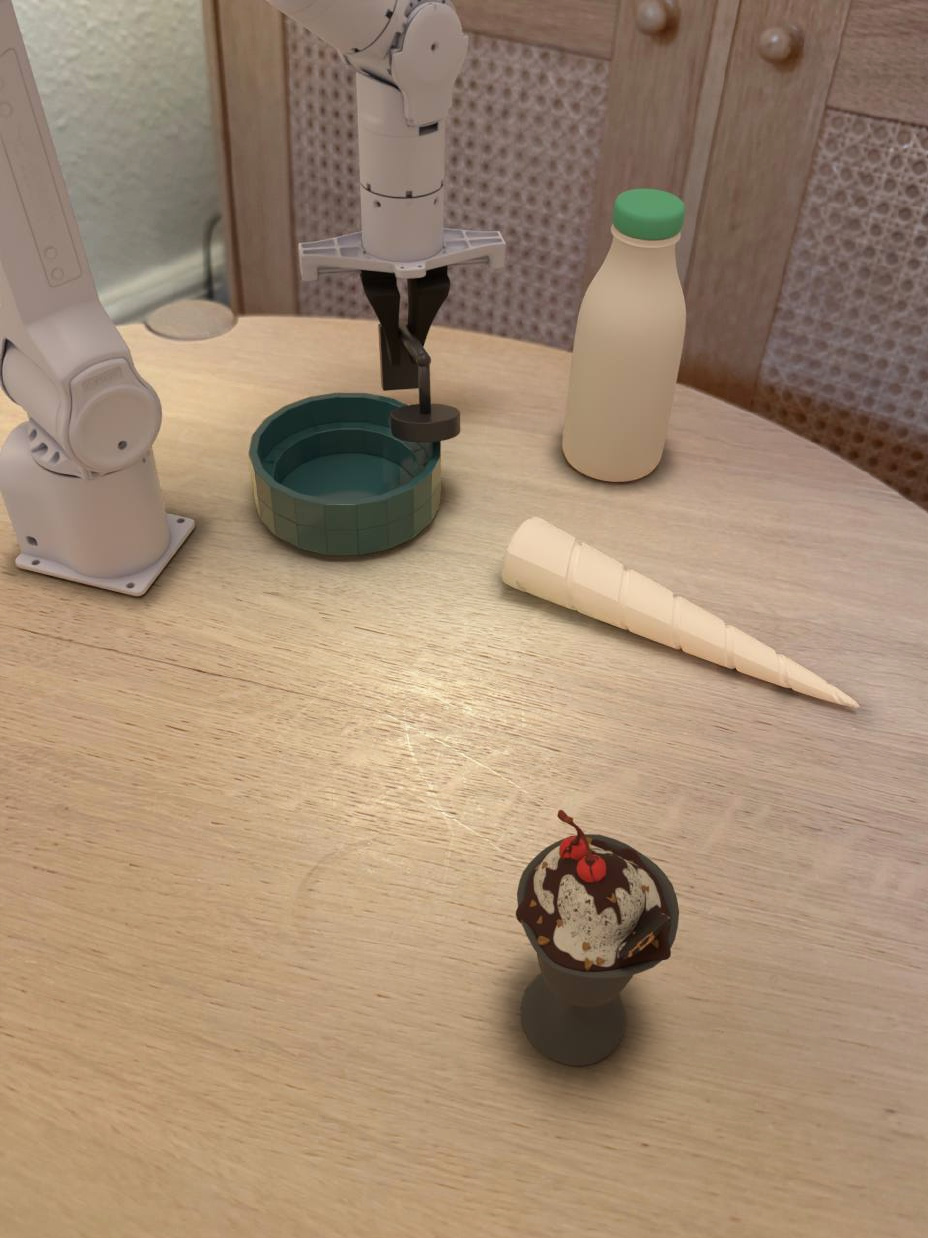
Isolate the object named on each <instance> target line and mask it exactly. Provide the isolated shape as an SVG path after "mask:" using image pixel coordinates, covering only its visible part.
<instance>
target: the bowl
mask: <svg viewBox="0 0 928 1238" xmlns="http://www.w3.org/2000/svg"><path fill="white" fill-rule="evenodd" d="M407 405H408V404H407V403H404V402H402V401H400V400H396V399H395V398H392V397H388V396H383V395H379V394H378V395H377V394H372V393H368V392H331V393H326V394H319V395H313V396H308V397H305V398H302V399H299V400H297V401H294V402H291V403H288V404H285V405H284V406H282V407H280V408H279V409H277V410H276V411H274V412H273V413H272V414H270V415H268V416H266V417H265V418H264V419H263V420H262V422H261V423H260V424H259V426H258V427H257V428H256V430H255V431H254V432H253V433H252V434H251V439H250V444H249V447H248V459H249V460H248V462H249V467H250V475H251V483H252V489H253V497H254V503H255V507H256V509H257V513H258V516H259V518H260V520H261V522H262V523H263V525H265V526H266V527H267V528H268V530H269V531H270V532H271V533H272V534H273V535H274V536H275V537H277V538H278V539H280V540H283V541H285V542H286V543H288V544H290V545H292V546H294V547H296V548H298V549H301V550H305V551H309V552H314V553H318V554H322V555H329V556H362V555H366V554H372V553H377V552H381V551H386V550H390V549H392V548H395V547H397V546H399V545H401V544H404V543H405V542H408V541H410V540H412V539H413V538H415V537H416V536H417V535H418V534H419V533H421V532H422V531H423V530H424V529H425V528H427V526H428V525H430V524H431V523H432V521H433V519H434V517H435V515H436V514H437V511H438V509H439V508H440V505H441V475H442V473H441V472H442V471H441V470H442V441H439V442H428V443H419V442H409V441H404V440H400V439H397V438H395V437H394V436H393V435H392V433H391V413H392V411H394V410H395V409H397V408H400V407H403V406H407Z"/></svg>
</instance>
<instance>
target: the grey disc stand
mask: <svg viewBox="0 0 928 1238" xmlns="http://www.w3.org/2000/svg"><path fill="white" fill-rule="evenodd" d="M407 322H408V321H405V320H404V319H403V318H401V317H399V341H400V352H401V362H400V365H398V366H392V365H391V364H390V360H389V357H388V353H387V345H386V339H385V334H384V331H383V329H382V326H381V324H380V323H378V324H377V330H378V348H379V350H378V351H379V369H380V370H379V371H380V387H381V389H382V391H383V392H386V391H387V392H388V391H399V390H400V391H403V390H416V389H418V403H415V404H406V405H407V406H403V407H400V408H397V409H395V410H394V411H392V413H391V433H392V435H393V436H394V437H395V438H397V439H400V440H404V441H409V442H419V443H428V442H439V441H441V442H443V441H449V440H451V439H454V438H456V437H457V436H459V435H460V434H461V431H462V430H461V411H460V410H459V408H457V407H455V406H453V405H452V406H451V405H448V404H443V403H432V395H431V394H432V393H431V392H432V391H431V364H432V358H431V356H430V355H429V354H430V353H428V352H427V350H426V349H425V347H423V346H422V345H421V343H420V342H419V341H418V339H417V338H416V337H415V335H414V334H413V333H412V331H411V330H410V328H409V327H408V326H407ZM407 350H408V351H409V353H410V354H411V356H412V357H413V359H414V360H415V362H416V363H417V364H411V361H410V358H409V355H408V351H407Z"/></svg>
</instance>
